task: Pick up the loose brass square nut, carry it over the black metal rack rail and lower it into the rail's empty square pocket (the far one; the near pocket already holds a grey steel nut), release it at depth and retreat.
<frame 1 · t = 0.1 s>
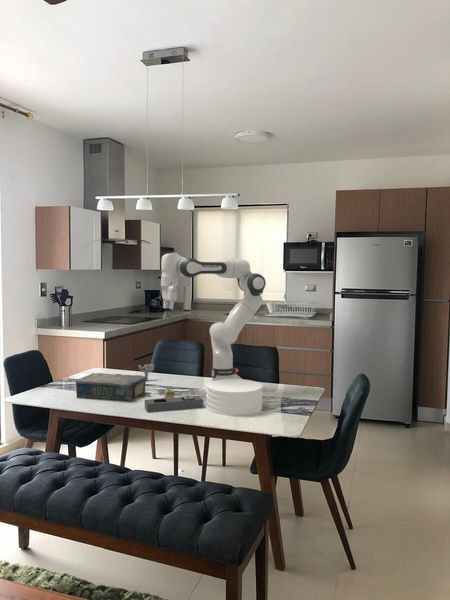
hand: (169, 308, 261), 48 cm above the table, fingers open, 8 cm apart
plate stack: (234, 408, 245), on the table
seated steel nut: (187, 406, 245), resting in rack rail
mechanical component: (146, 381, 300), on the table
brass nut: (169, 399, 257), on the table
metal box: (111, 396, 265), on the table
rack rail: (174, 407, 243), on the table
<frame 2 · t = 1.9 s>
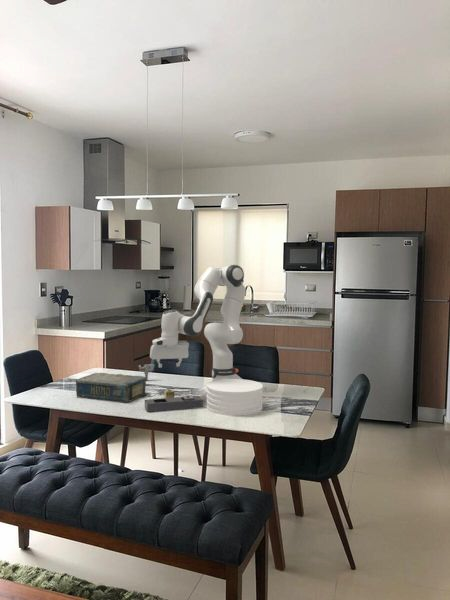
hand: (169, 367, 256), 17 cm above the table, fingers open, 8 cm apart
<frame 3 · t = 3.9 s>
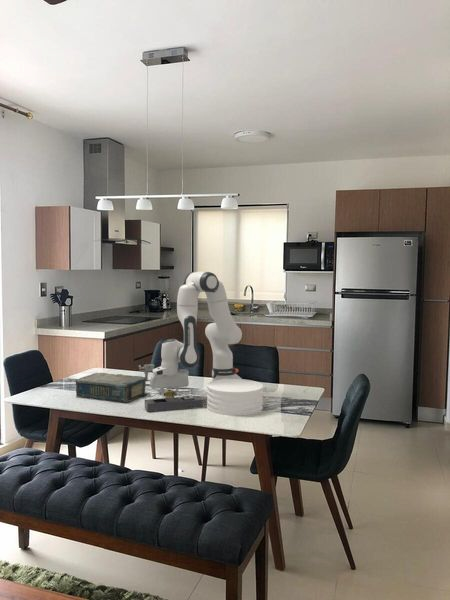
hand: (169, 395, 257), 2 cm above the table, fingers closed on brass nut, 4 cm apart
brass nut: (169, 399, 257), on the table, touching gripper
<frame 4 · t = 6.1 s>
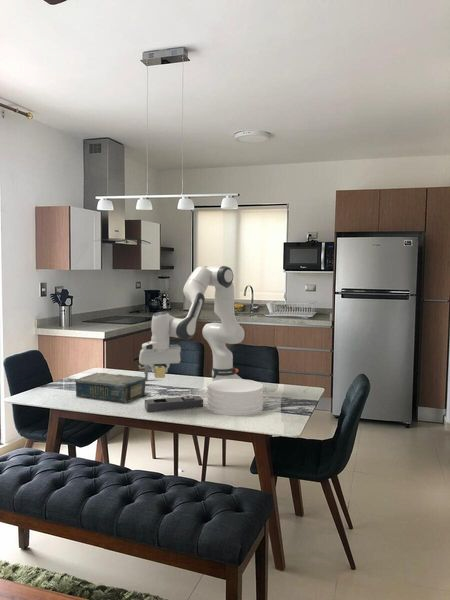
hand: (159, 372, 240), 18 cm above the table, fingers closed on brass nut, 4 cm apart
brass nut: (159, 377, 240), point 16 cm above the table, touching gripper
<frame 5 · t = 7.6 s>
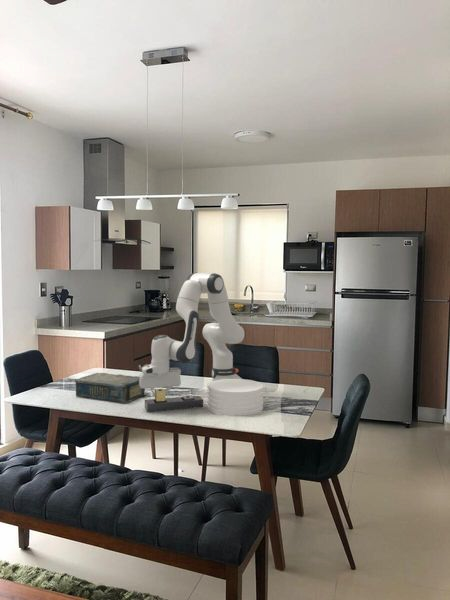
hand: (160, 396, 240), 6 cm above the table, fingers closed on brass nut, 4 cm apart
brass nut: (160, 400, 240), point 4 cm above the table, touching gripper
when the fingers open (5 cm above the table, at t = 8.7 s): brass nut drops 3 cm, resting in rack rail.
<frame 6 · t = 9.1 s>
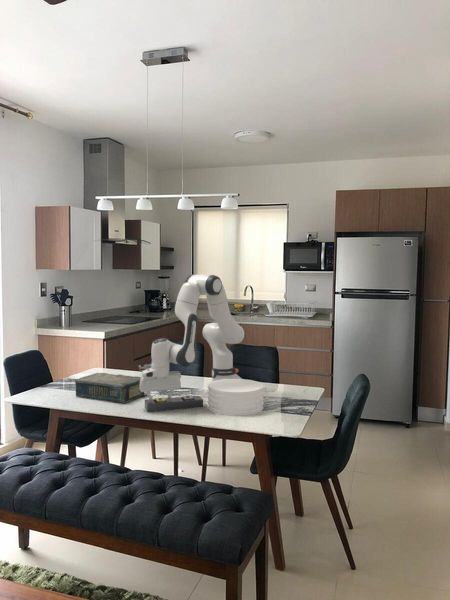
hand: (160, 399, 240), 5 cm above the table, fingers open, 8 cm apart
brass nut: (160, 408, 240), resting in rack rail
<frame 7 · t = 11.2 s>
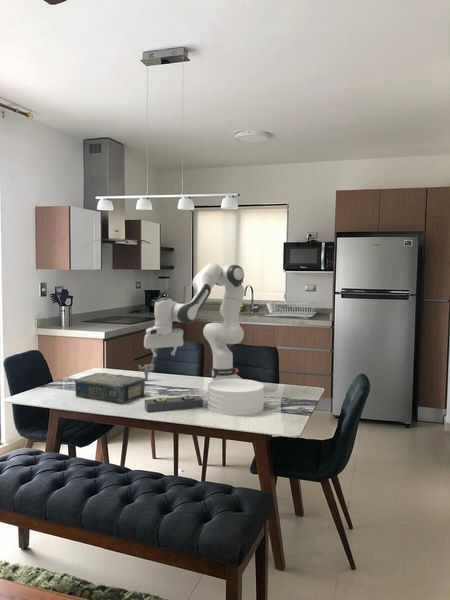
hand: (164, 355, 251), 24 cm above the table, fingers open, 8 cm apart
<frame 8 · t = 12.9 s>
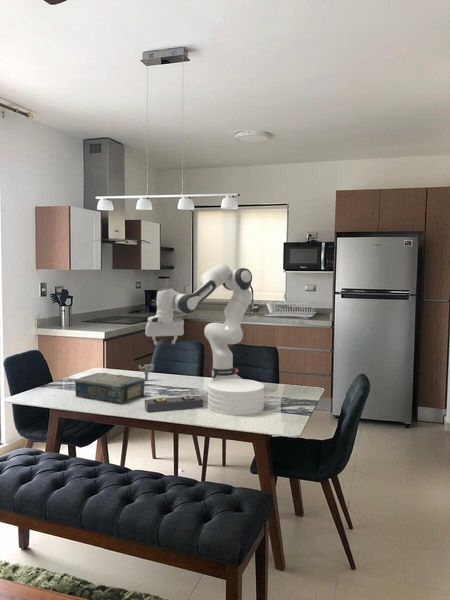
hand: (164, 344, 258), 29 cm above the table, fingers open, 8 cm apart
at the end: brass nut 0.1 cm from the target spot on the rack rail, point 0.0 cm above the rack rail's base; brass nut tilted 0°; the gripper is holding nothing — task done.
